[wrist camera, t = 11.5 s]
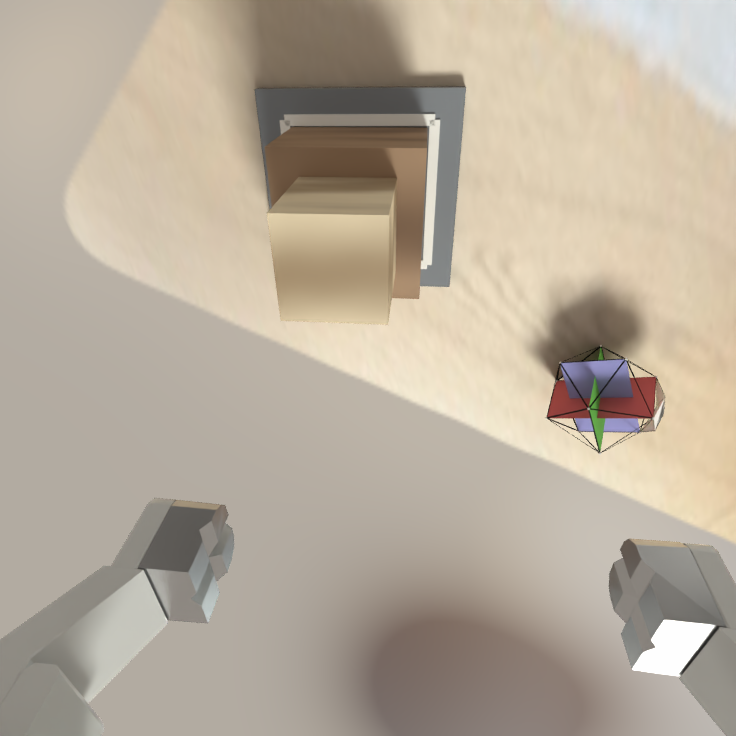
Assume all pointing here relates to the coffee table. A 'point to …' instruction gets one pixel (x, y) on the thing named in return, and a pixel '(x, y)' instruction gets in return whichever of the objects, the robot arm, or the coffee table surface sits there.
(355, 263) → the oak block
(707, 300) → the coffee table surface
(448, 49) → the coffee table surface
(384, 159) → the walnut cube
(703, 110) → the coffee table surface
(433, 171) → the pad
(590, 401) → the geometric puzzle
